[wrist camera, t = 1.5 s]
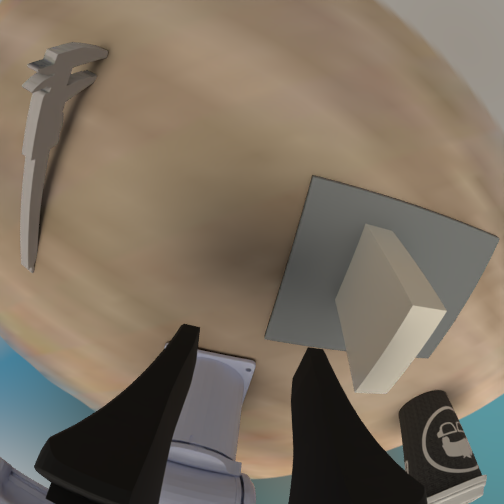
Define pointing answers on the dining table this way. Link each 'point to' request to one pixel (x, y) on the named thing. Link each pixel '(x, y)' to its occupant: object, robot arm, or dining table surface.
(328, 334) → the mat
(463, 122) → the dining table surface
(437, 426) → the coffee cup
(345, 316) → the tile
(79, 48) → the caliper
